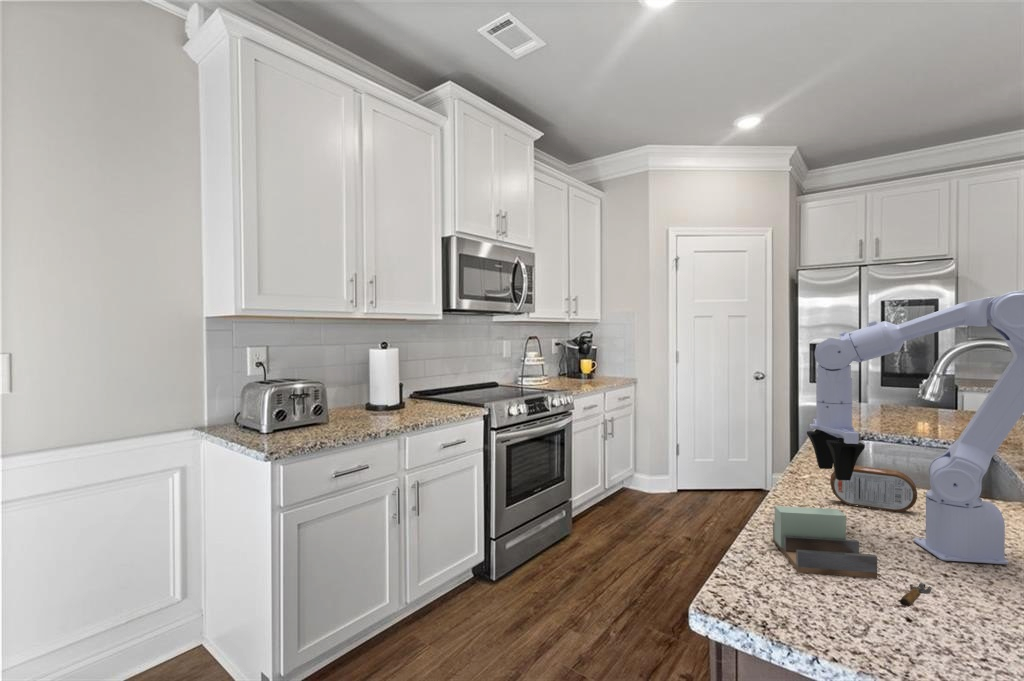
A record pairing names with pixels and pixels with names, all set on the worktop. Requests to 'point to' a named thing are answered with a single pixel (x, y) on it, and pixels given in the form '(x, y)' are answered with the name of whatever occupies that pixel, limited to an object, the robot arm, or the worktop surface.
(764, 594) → the worktop surface
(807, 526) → the tall sage green block
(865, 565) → the rack
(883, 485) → the tin
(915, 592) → the can opener
